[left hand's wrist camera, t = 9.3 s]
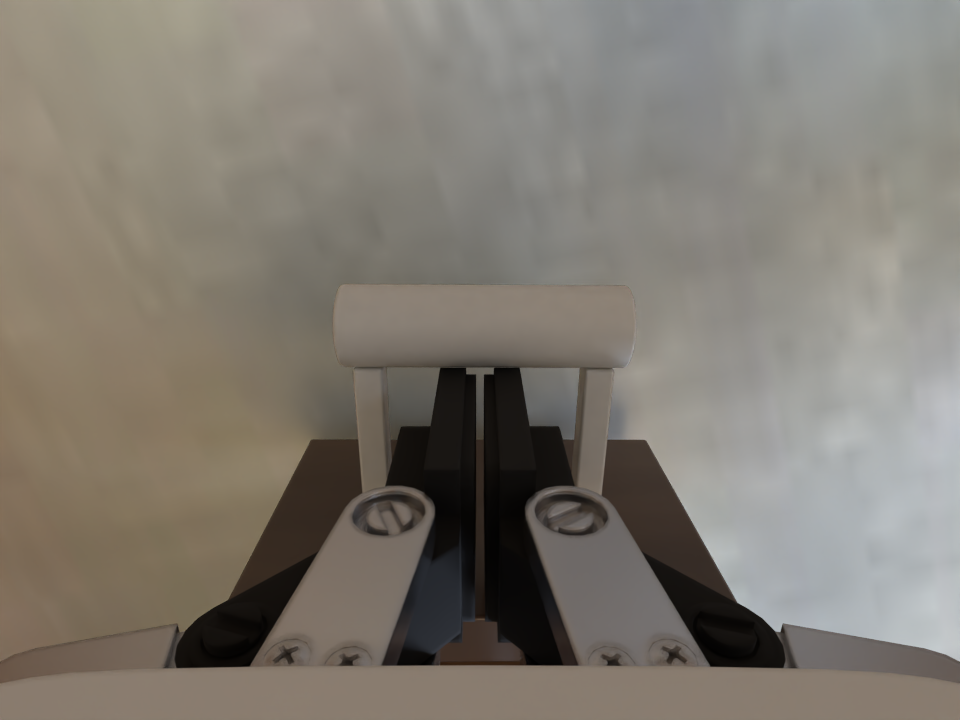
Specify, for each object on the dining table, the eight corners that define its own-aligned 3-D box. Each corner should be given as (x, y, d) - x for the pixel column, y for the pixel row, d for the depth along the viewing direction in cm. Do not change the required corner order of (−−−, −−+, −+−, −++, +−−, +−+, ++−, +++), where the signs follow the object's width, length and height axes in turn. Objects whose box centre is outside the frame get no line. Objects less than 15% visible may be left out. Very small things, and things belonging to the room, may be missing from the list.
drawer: (288, 242, 15) (155, 324, 9) (671, 245, 15) (815, 327, 9) (357, 852, 25) (318, 1102, 18) (592, 849, 25) (633, 1097, 18)
